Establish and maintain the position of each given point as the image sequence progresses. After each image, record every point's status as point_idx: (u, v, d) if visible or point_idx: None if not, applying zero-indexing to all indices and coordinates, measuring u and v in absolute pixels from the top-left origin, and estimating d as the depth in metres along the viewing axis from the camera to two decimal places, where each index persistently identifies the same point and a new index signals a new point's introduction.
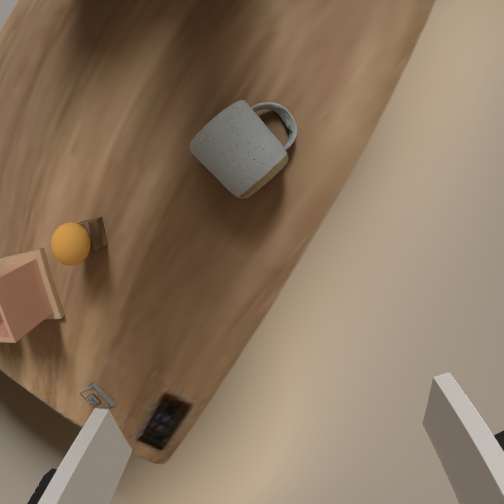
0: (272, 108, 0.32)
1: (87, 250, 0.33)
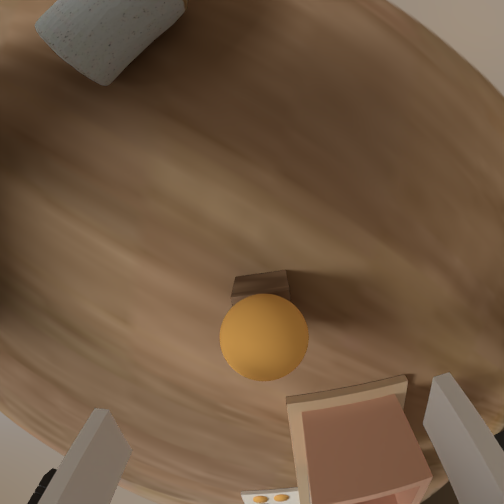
0: None
1: (279, 299, 0.17)
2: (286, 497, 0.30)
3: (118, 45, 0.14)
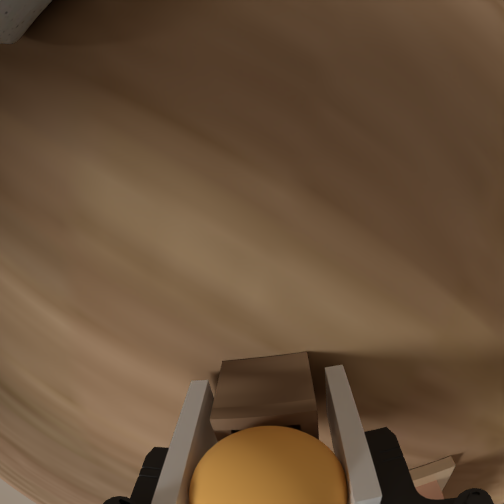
0: None
1: (301, 453, 0.07)
2: None
3: None
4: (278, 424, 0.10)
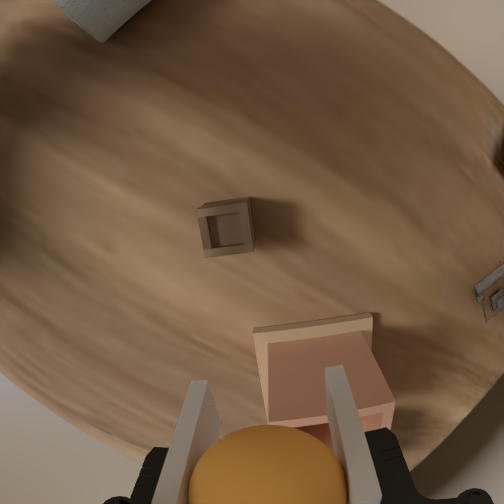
0: None
1: (300, 453, 0.07)
2: None
3: (111, 9, 0.17)
4: (228, 211, 0.22)
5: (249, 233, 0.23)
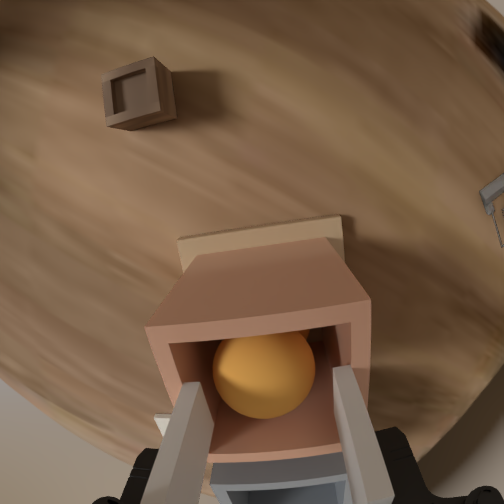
0: None
1: None
2: None
3: None
4: (134, 69, 0.16)
5: (155, 89, 0.16)
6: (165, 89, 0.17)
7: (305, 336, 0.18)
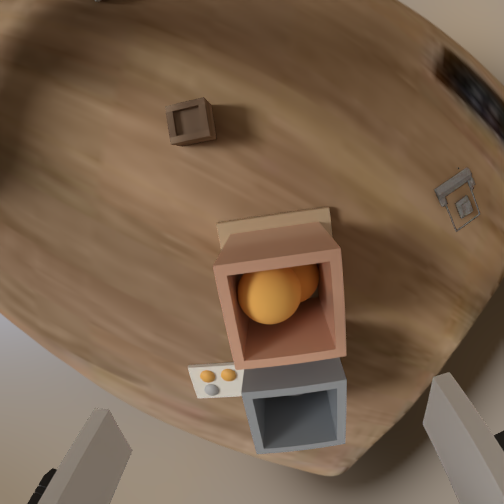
0: None
1: None
2: (233, 374, 0.36)
3: None
4: (190, 105, 0.25)
5: (206, 121, 0.26)
6: (210, 119, 0.27)
7: (318, 280, 0.29)
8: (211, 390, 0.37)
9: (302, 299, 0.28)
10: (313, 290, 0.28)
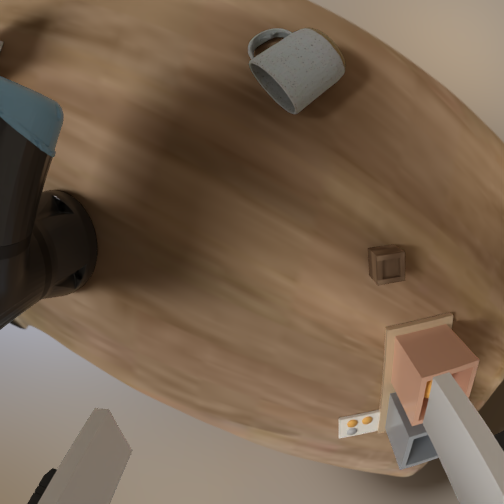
0: (253, 48, 0.31)
1: None
2: (371, 419, 0.45)
3: (314, 95, 0.29)
4: (395, 257, 0.34)
5: (404, 270, 0.35)
6: None
7: None
8: (351, 432, 0.46)
9: None
10: None
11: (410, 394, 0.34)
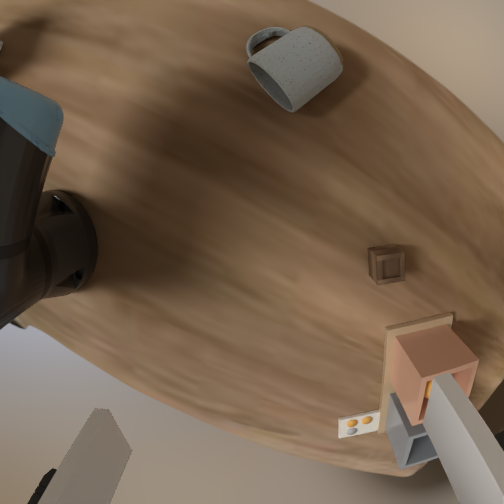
0: (251, 47, 0.31)
1: None
2: (370, 419, 0.45)
3: (312, 93, 0.29)
4: (394, 257, 0.34)
5: (404, 269, 0.35)
6: None
7: None
8: (351, 431, 0.46)
9: None
10: None
11: (409, 394, 0.34)
